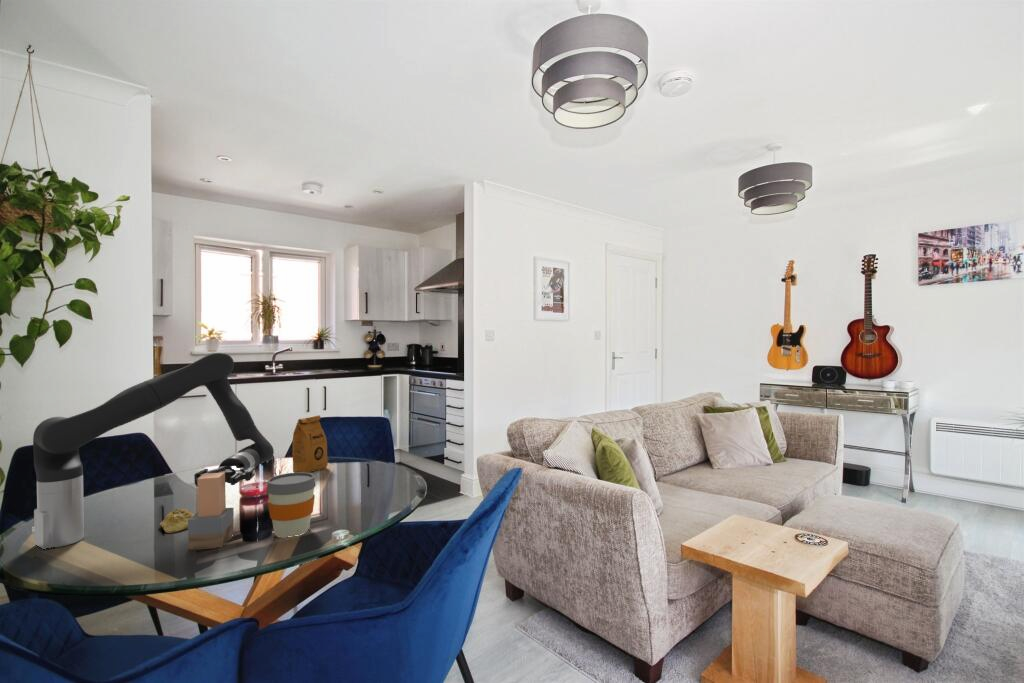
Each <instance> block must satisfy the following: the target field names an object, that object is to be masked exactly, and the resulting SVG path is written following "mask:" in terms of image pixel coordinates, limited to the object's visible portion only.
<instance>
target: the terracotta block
mask: <svg viewBox="0 0 1024 683" xmlns="http://www.w3.org/2000/svg"><path fill="white" fill-rule="evenodd" d="M197 484H198V487H197V513H198V517H207V516H219V515H220V514H221V513H222V512H223V511H224V510H225V509H226V508H227V507H226V504H227V503H226V498H227V497H226V482H225V472H222V473H207V474H203V475H202V476H201V477H199V478H198V479H197Z"/></svg>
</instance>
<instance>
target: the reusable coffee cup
mask: <svg viewBox="0 0 1024 683" xmlns="http://www.w3.org/2000/svg"><path fill="white" fill-rule="evenodd" d="M315 487H316V477H315V474H314V473H312V472H310V473H305V472H297V473H294V472H289V473H288V472H287V473H283V474H282V473H281V474H278V475H275V476H274V475H273V476H272V477H270V478H269V479H267V485H266V493H267V496H268V500H267V506H268V512H269V513H268V514H269V518H270V519H271V521H272V527H273V533H274V534H275V535H277V536H280V537H288V536H295V535H300V534H302V533H304V532H306V531H307V530H308V529H309V530H310V528H311V527H310V525H311V518H312V514H313V513H314V505H315V497H316V496H315V494H314V492H315ZM274 534H273V535H274ZM275 535H274V536H275Z"/></svg>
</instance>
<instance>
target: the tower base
mask: <svg viewBox="0 0 1024 683" xmlns="http://www.w3.org/2000/svg"><path fill="white" fill-rule="evenodd" d="M234 523H235V522H233V523H232V524H231V525H230V526H229V527H228V528H227V529H226V530H225V531H224V532H223V533H219V534H203V535H188V534H187V540H188V541H187V542H188V544H187V546H188V551H191V550H206V549H207V550H208V549H217V548H216V547H222V546H223V545H224V544H225V543H226V542H227V541H228V540H229V539H230V538H231V537H232V535H233V534H234V533H235V532H234V531H235V528H234V527H235V524H234ZM234 535H235V534H234ZM232 538H233V537H232ZM232 538H231V539H232ZM231 539H230V540H231ZM230 540H229V541H230ZM229 541H228V542H229ZM228 542H227V543H228ZM227 543H226V544H227ZM226 544H225V545H226ZM225 545H224V546H225ZM224 546H223V547H224ZM223 547H222V548H223Z"/></svg>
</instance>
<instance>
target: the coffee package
mask: <svg viewBox="0 0 1024 683" xmlns="http://www.w3.org/2000/svg"><path fill="white" fill-rule="evenodd" d="M321 419H322V418H321V415H320V414H318V415H314V416H310V417H309V416H308V417H305V418H299V419H298V420H297V423H296V425H295V428H294V429H293V430H294V431H293V432H292V434H293V435H292V448H291V449H292V450H291V451H292V473H297V472H305V473H312V472H317V471H320V470H323V469H326V468H327V467H328V441H327V437H326V435H325V432H324V429H323V427H322V425H321V422H320V420H321Z"/></svg>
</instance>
